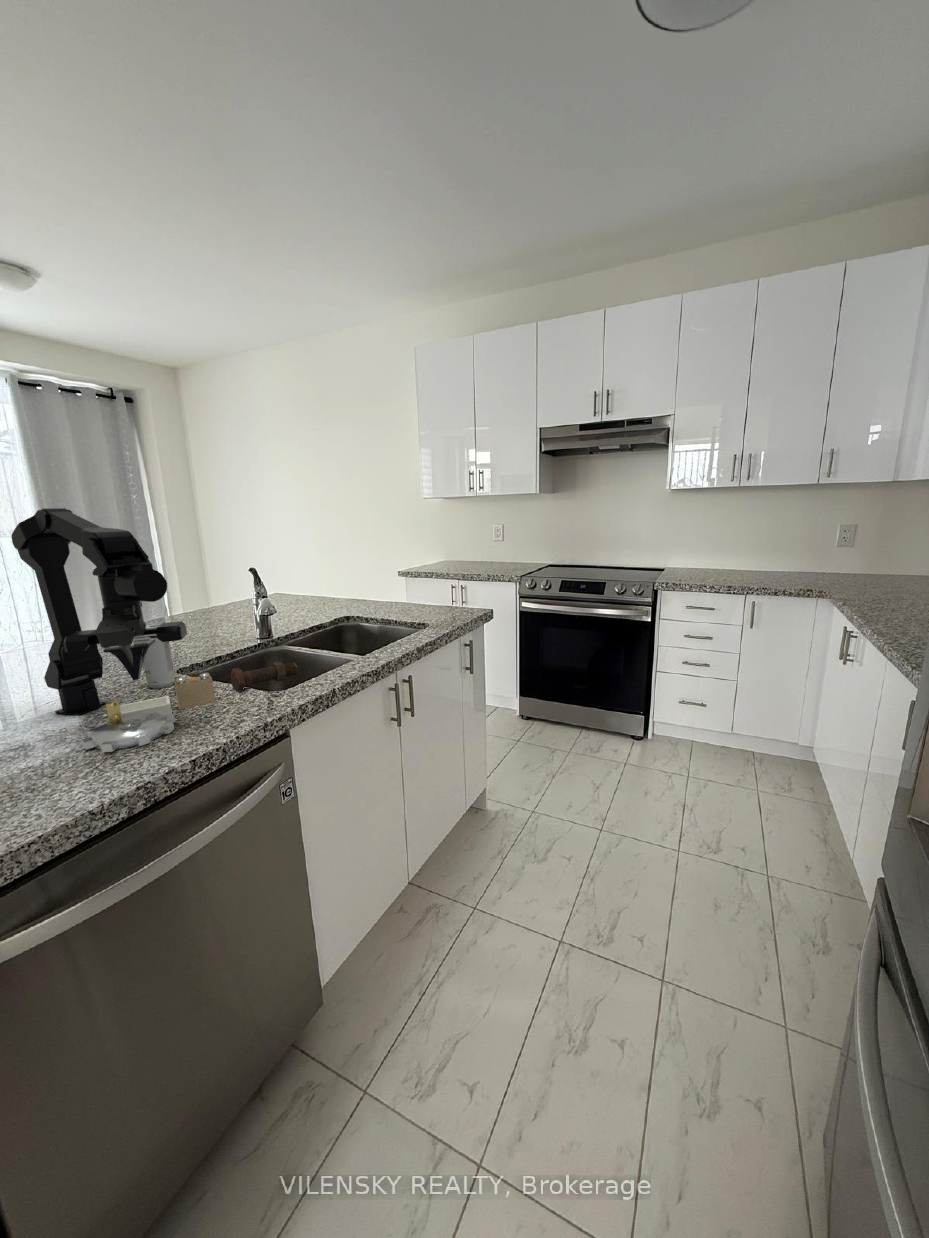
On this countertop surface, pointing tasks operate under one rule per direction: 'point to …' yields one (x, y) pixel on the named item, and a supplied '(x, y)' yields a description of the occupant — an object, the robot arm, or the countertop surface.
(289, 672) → the bolt
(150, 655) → the energy drink can
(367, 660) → the countertop surface
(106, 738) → the sprocket
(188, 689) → the link
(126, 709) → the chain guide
